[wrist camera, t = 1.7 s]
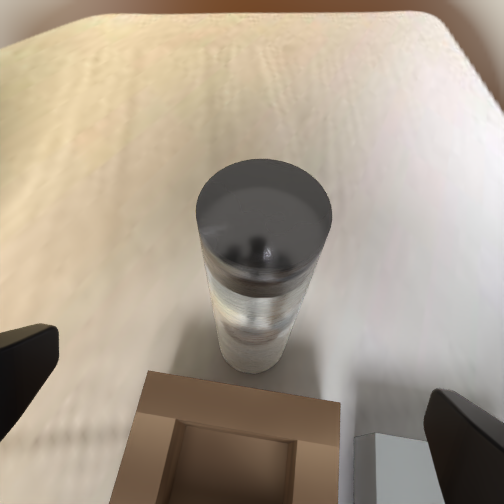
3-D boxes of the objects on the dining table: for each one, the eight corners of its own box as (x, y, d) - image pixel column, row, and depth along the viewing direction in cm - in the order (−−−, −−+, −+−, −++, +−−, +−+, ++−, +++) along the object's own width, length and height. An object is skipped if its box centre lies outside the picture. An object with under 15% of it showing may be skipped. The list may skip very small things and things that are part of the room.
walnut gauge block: (312, 641, 15) (332, 693, 12) (106, 599, 16) (69, 638, 12) (323, 413, 20) (340, 402, 16) (163, 386, 20) (148, 370, 17)
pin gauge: (298, 342, 22) (360, 214, 11) (248, 388, 20) (258, 297, 9) (255, 296, 23) (268, 140, 12) (205, 336, 22) (168, 201, 11)
